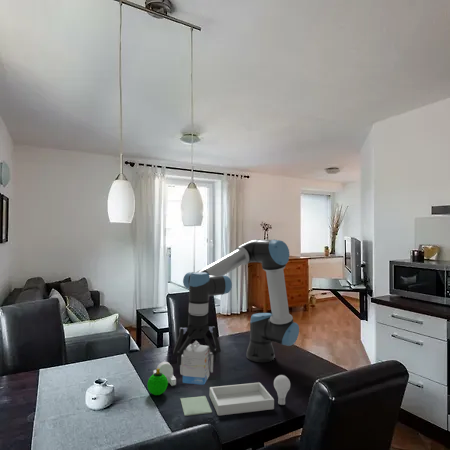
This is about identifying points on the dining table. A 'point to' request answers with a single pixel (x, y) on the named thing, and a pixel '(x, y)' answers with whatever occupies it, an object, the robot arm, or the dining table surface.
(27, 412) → the dining table surface
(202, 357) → the ink box
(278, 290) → the robot arm
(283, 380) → the lightbulb
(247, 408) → the tray
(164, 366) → the slotted bracket
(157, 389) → the ornament
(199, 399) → the mat
